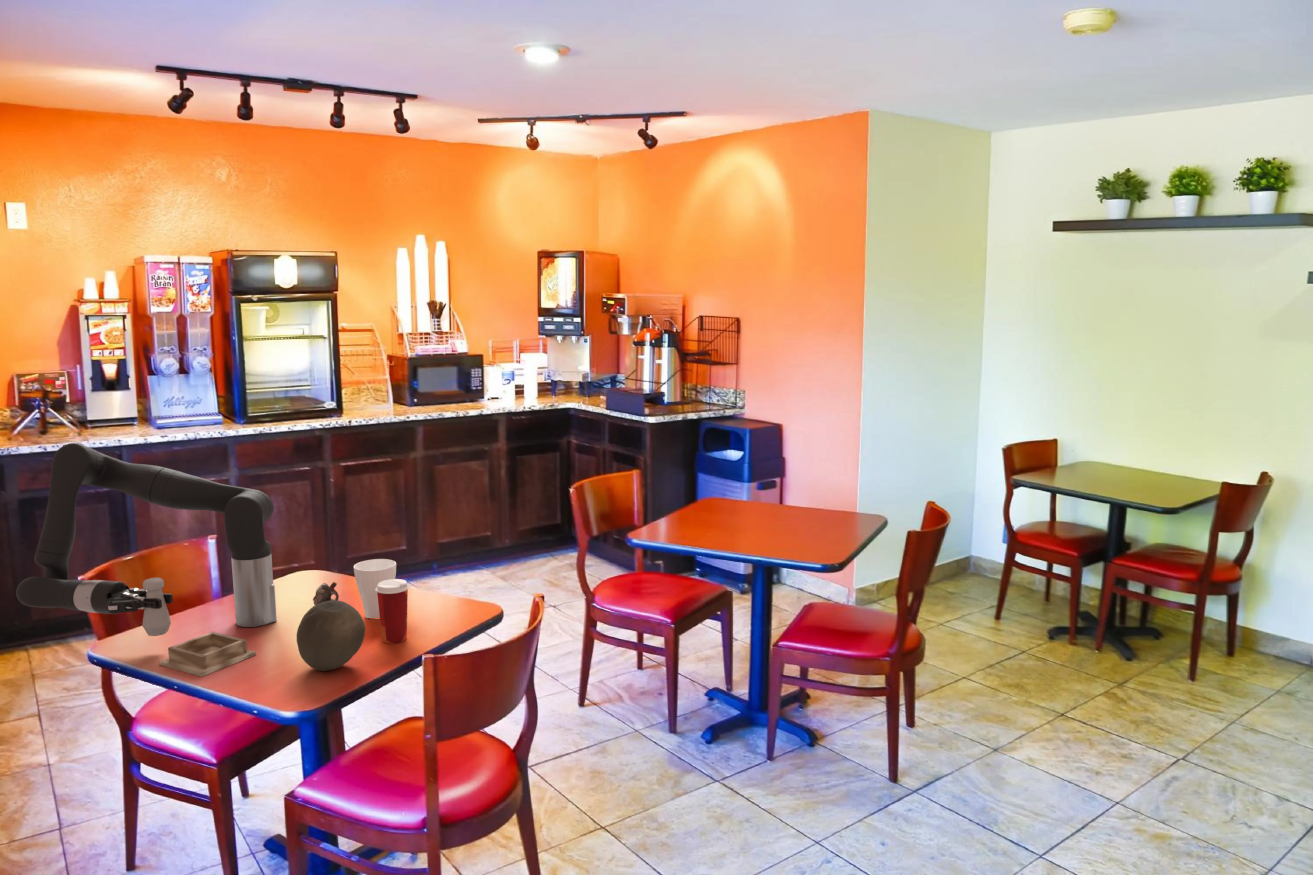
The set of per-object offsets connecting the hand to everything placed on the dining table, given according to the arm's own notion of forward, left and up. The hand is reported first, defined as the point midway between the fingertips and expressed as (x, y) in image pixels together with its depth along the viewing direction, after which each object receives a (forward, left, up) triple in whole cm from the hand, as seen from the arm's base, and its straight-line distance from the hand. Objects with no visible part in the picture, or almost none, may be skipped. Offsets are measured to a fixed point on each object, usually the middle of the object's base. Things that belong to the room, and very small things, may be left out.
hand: (165, 601), depth 217 cm
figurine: (-35, +3, -12) cm, 37 cm away
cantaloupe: (-32, +28, -12) cm, 44 cm away
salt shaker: (+2, -2, -8) cm, 9 cm away
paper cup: (-48, +17, -12) cm, 52 cm away
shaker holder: (-8, +10, -12) cm, 17 cm away
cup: (-48, -2, -12) cm, 49 cm away
